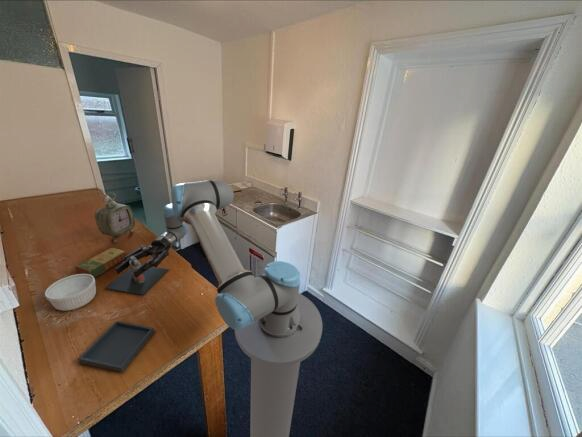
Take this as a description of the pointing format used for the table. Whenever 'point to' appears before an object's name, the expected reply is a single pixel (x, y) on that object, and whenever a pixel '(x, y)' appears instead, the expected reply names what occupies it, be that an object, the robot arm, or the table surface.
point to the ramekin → (71, 292)
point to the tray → (117, 346)
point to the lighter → (134, 266)
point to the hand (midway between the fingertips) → (126, 273)
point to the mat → (131, 286)
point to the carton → (101, 262)
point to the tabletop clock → (114, 218)
